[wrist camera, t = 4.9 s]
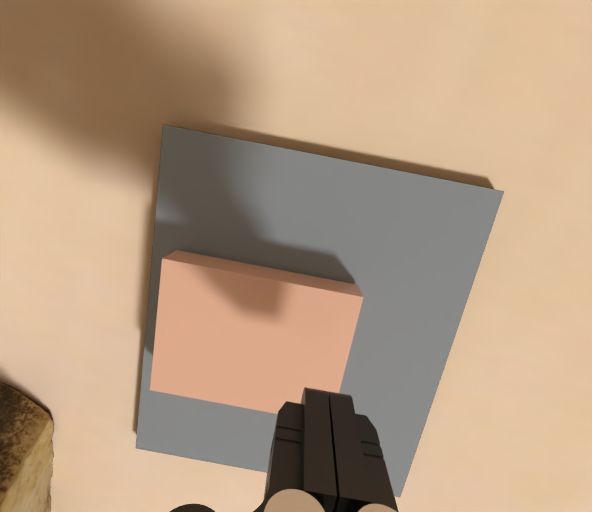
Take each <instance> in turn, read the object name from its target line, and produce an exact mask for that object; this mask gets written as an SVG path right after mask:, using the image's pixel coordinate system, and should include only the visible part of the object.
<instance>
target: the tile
mask: <svg viewBox="0 0 592 512" xmlns="http://www.w3.org/2000/svg"><path fill="white" fill-rule="evenodd" d="M362 301H363V295H362V293H361V291H360V288H359V286H358V285H357V284H351V283H346V282H341V281H336V280H331V279H325V278H320V277H315V276H310V275H305V274H299V273H294V272H289V271H284V270H279V269H274V268H268V267H263V266H258V265H253V264H248V263H242V262H237V261H232V260H227V259H222V258H216V257H211V256H206V255H201V254H196V253H190V252H185V251H180V250H176V251H174V252H172V253H171V254H169V255H167V256H166V257H164V258H162V265H161V276H160V287H159V297H158V308H157V319H156V330H155V341H154V351H153V362H152V373H151V384H150V390H152V391H157V392H163V393H168V394H173V395H179V396H184V397H189V398H195V399H200V400H205V401H211V402H216V403H221V404H227V405H232V406H237V407H243V408H248V409H253V410H259V411H264V412H270V413H275V414H278V411H279V410H280V409H281V407H282V406H283V405H284V403H285V402H286V401H288V402H294V403H299V404H300V403H301V399H302V394H303V390H304V387H307V388H312V389H318V390H323V391H327V392H328V391H329V392H335V393H339V391H340V387H341V383H342V379H343V375H344V371H345V367H346V364H347V360H348V356H349V352H350V348H351V344H352V340H353V336H354V332H355V328H356V325H357V321H358V317H359V313H360V309H361V305H362Z"/></svg>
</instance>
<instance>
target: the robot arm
mask: <svg viewBox="0 0 592 512" xmlns="http://www.w3.org/2000/svg"><path fill="white" fill-rule="evenodd" d="M383 458H384V456H383V452H382V449H381V447H380V441H379V437H378V434H377V430H376V428H375V427H374V425H373V424H372V423H371V421H370V420H369V418H368V417H367V416H366V415H361V414H355V410H354V404H353V399H352V396H351V395H346V394H341V393H335V392H329V391H328V392H327V391H323V390H318V389H312V388H307V387H304V390H303V394H302V399H301V403H300V404H299V403H294V402H288V401H286V402H285V403H284V405H283V406H282V407H281V409H280V410H279V411H278V415H277V420H276V425H275V430H274V435H273V440H272V445H271V450H270V457H269V464H268V472H267V479H266V486H265V494H264V501H263V502H262V504H261V505H260V506H259V507H258V508H257V509H256V510H255V511H253V512H398V509H397V505H396V501H395V497H394V494H393V490H392V486H391V482H390V479H389V475H388V471H387V467H386V464H385V460H384V459H383ZM170 512H215V511H214V510H212V509H211V508H209V507H207V506H204V505H200V504H186V505H183V506H180V507H177V508H175V509H173V510H172V511H170Z"/></svg>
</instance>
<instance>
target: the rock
mask: <svg viewBox="0 0 592 512" xmlns="http://www.w3.org/2000/svg"><path fill="white" fill-rule="evenodd" d="M53 432H54V427H53V422H52V420H51V418H50V415H49V413H47V412H45V411H44V410H43V409H42V408H41V407H40V406H38V405H36V404H35V403H34V402H33V401H31V400H29V399H28V398H27V397H25V396H24V395H23V394H22V393H20V392H19V391H17V390H15V389H13V388H12V387H9V386H7V385H5V384H2V383H0V512H51V496H50V480H51V478H52V473H53V467H52V465H53V464H52V462H53V457H54V454H53V448H52V442H51V438H52V436H53Z"/></svg>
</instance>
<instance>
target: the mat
mask: <svg viewBox="0 0 592 512" xmlns="http://www.w3.org/2000/svg"><path fill="white" fill-rule="evenodd" d="M503 193H504V191H500V190H495V189H490V188H485V187H479V186H474V185H469V184H464V183H459V182H454V181H449V180H444V179H439V178H434V177H429V176H424V175H418V174H413V173H408V172H403V171H398V170H393V169H388V168H383V167H378V166H373V165H368V164H362V163H357V162H352V161H347V160H342V159H337V158H332V157H327V156H322V155H317V154H312V153H307V152H301V151H296V150H291V149H286V148H281V147H276V146H271V145H266V144H261V143H256V142H251V141H246V140H240V139H235V138H230V137H225V136H220V135H215V134H210V133H205V132H200V131H195V130H190V129H185V128H179V127H174V126H169V125H164V124H163V131H162V143H161V155H160V167H159V178H158V190H157V202H156V214H155V226H154V237H153V249H152V261H151V273H150V285H149V296H148V308H147V320H146V332H145V344H144V356H143V367H142V379H141V391H140V403H139V415H138V426H137V438H136V448H137V449H142V450H147V451H153V452H158V453H164V454H169V455H174V456H180V457H185V458H191V459H196V460H201V461H207V462H212V463H218V464H223V465H228V466H234V467H239V468H245V469H250V470H255V471H261V472H266V473H267V472H268V464H269V457H270V450H271V445H272V440H273V435H274V430H275V425H276V420H277V415H278V414H275V413H270V412H264V411H259V410H253V409H248V408H243V407H237V406H232V405H227V404H221V403H216V402H211V401H205V400H200V399H195V398H189V397H184V396H179V395H173V394H168V393H163V392H157V391H152V390H150V384H151V373H152V362H153V351H154V341H155V330H156V319H157V308H158V297H159V287H160V276H161V265H162V258H164V257H166V256H167V255H169V254H171V253H172V252H174V251H176V250H180V251H185V252H190V253H196V254H201V255H206V256H211V257H216V258H222V259H227V260H232V261H237V262H242V263H248V264H253V265H258V266H263V267H268V268H274V269H279V270H284V271H289V272H294V273H299V274H305V275H310V276H315V277H320V278H325V279H331V280H336V281H341V282H346V283H351V284H357V285H358V286H359V288H360V291H361V293H362V295H363V301H362V305H361V309H360V313H359V317H358V321H357V325H356V328H355V332H354V336H353V340H352V344H351V348H350V352H349V356H348V360H347V364H346V367H345V371H344V375H343V379H342V383H341V387H340V391H339V393H341V394H346V395H351V396H352V399H353V404H354V410H355V414H361V415H366V416H367V417H368V418H369V420H370V421H371V423H372V424H373V425H374V427H375V428H376V430H377V434H378V437H379V441H380V447H381V449H382V452H383V456H384V458H383V459H384V460H385V464H386V467H387V471H388V475H389V479H390V482H391V486H392V490H393V494H394V496H396V497H400V496H401V493H402V491H403V488H404V485H405V482H406V479H407V476H408V473H409V470H410V467H411V464H412V461H413V458H414V455H415V452H416V449H417V446H418V443H419V441H420V438H421V435H422V432H423V429H424V426H425V423H426V420H427V417H428V414H429V411H430V408H431V405H432V402H433V399H434V396H435V393H436V390H437V388H438V385H439V382H440V379H441V376H442V373H443V370H444V367H445V364H446V361H447V358H448V355H449V352H450V349H451V346H452V343H453V340H454V337H455V335H456V332H457V329H458V326H459V323H460V320H461V317H462V314H463V311H464V308H465V305H466V302H467V299H468V296H469V293H470V290H471V287H472V284H473V282H474V279H475V276H476V273H477V270H478V267H479V264H480V261H481V258H482V255H483V252H484V249H485V246H486V243H487V240H488V237H489V234H490V232H491V229H492V226H493V223H494V220H495V217H496V214H497V211H498V208H499V205H500V202H501V199H502V196H503Z"/></svg>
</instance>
